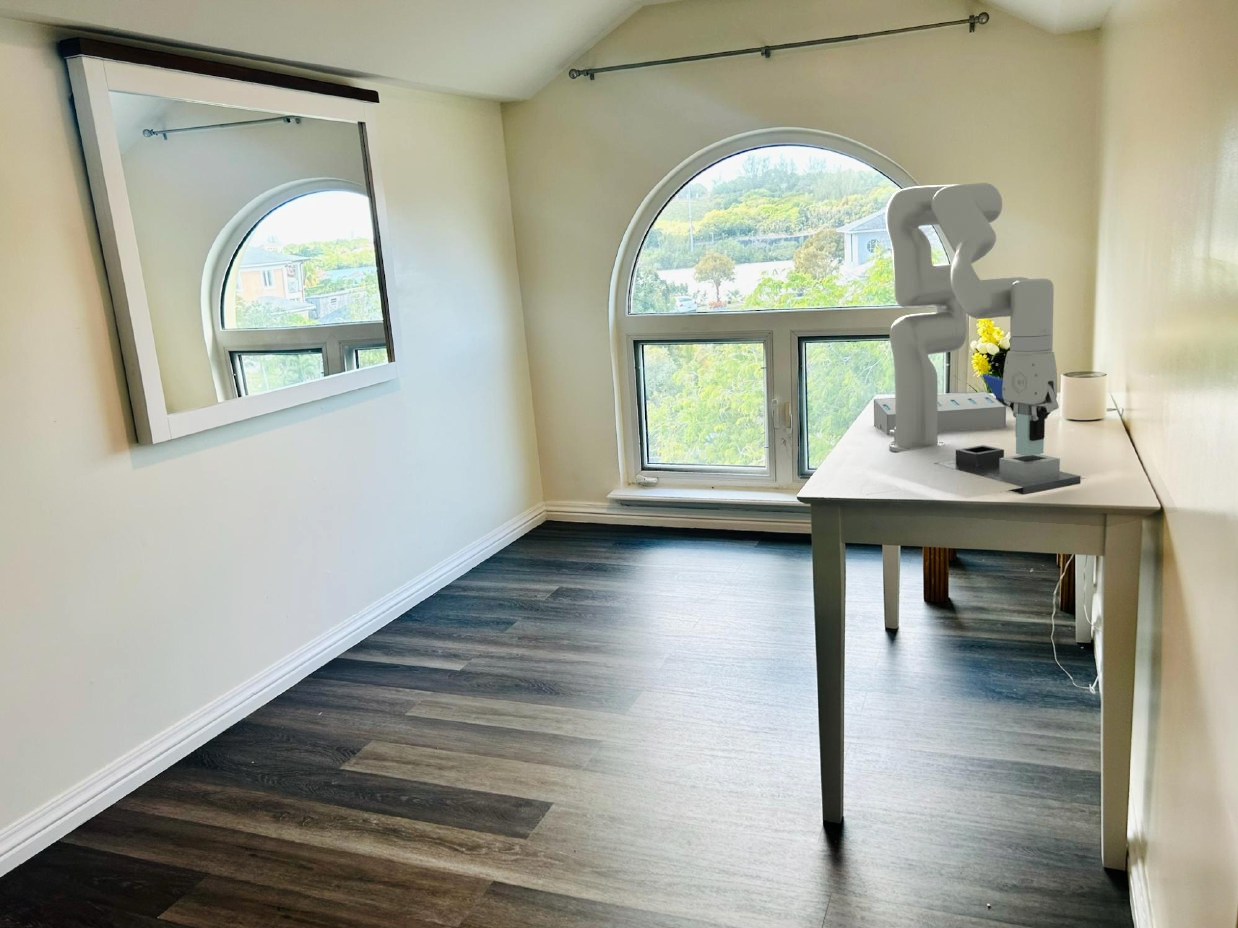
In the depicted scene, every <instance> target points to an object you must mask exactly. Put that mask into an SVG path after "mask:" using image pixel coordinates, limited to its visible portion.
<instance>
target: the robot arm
mask: <svg viewBox="0 0 1238 928" xmlns="http://www.w3.org/2000/svg"><path fill="white" fill-rule="evenodd" d="M1002 209H1003V198H1002V196H1001V193H1000V191H999V190H998V188H996V187H995V185H993V184H991V183H988V182H978V183H977V182H975V183H957V184H938V185H921V186H911V187H906V188H902V189H900V190H898V191H896V192H895V193H893V194H892V196H891V197H890V199H889V200H888V203H887V206H886V209H885V224H886V231H887V233H888V237H889V240H890V241H889V242H890V244H891V245H890V246H891V249H892V250H891V251H892V267H893V268H892V270H893V271H892V272H893V286H894V288H893V289H894V298H895V301H896V302H897V305H899V306H900V307H901V308H905V309H920V308H921V309H922V308H930V307H931V308H932V307H936V312H924V313H923V312H922V313H915V314H908V315H903V316H901V317H898V319H896V320H894V322H893V323H892V324H891V327H890V330H889V341H890V342H889V343H890V345H891V350H892V356H893V366H894V395H895V397H894V398H895V417H896V427H895V428H894V430H890V431H889V434H890V435H889V436H893V441H891V442H890V443H889V444H888V447H889V450H891V451H892V452H896V453H903V452H908V451H914V450H921V449H926V448H932V447H938V446H944V445H945V442H944V441H942V440H939V438H938V437H939V436H938V434H939V432H938V395H939V394H938V389H939V388H938V385H939V384H938V372H937V369H936V367H935V365H934V364H933V362H932V361H931V360H930V358H929V355H935V354H943V353H944V354H945V353H952V352H955V351H958V350H960V349H961V348H962V347H963V346H964V344H965V343H966V339H967V332H968V325H967V323H968V322H967V321H968V320H967V315H968V316H969V317H971V318H974V319H977V320H983V319H993V318H1003V317H1004V318H1007V317H1009V318H1010V319H1009V322H1010V324H1009V325H1010V327H1009V331H1010V332H1009V340H1008V343H1009V350H1008V351H1007V352H1006V355H1005V356H1006V357H1005V359H1004V360H1005V361H1004V367H1003V374H1002V376H1003V377H1002V379H1003V388H1002V395H1003V399H1004V402H1005V403H1006V404H1007V405H1009V406H1010V407H1009V406H1008V407H1009V408H1010V410H1011V411H1012V416H1013V418H1014V419H1016V414H1017V413H1019V404H1025V405H1031V407H1032V419H1033V420H1030V440H1031V441H1036V440H1041V439H1044V440H1045V437H1046V436H1045V432H1046V431H1045V425H1046V420H1047V419H1048V417H1049V415H1050V413H1052V412H1053V411H1056V410H1058V409H1059V402H1058V401H1057V399H1058V398H1057V397H1058V372H1057V369H1058V368H1057V361H1056V356H1055V352H1054V351H1053V348H1054V347H1053V343H1054V341H1053V340H1054V337H1053V335H1054V334H1053V333H1054V293H1055V292H1054V291H1055V290H1054V284H1053V282H1052V280H1050V279H1048V278H1028V277H1021V276H1020V277H1019V276H1018V277H1004V278H1003V277H1002V278H989V279H980V278H979V276H978V274H977V273H976V271H975V269H974V267H973V264H974V263H975V262H977V261H979V260H980V259H982V258H984V257H985V256H986V255H987V254H988V253H989V252H990V251H991V250H992V249H993V248H994V246H995V245H996V241H997V234H996V231H995V230H994V229H993V227H992V225H991V224H990V223H992V222H994V221H996V220H997V219H998V218H999V216H1001V213H1002V211H1003V210H1002ZM934 225H935V226H936V225H937V226H939V228H940V229H941V231H942V233H943V234H944V237H945V238H946V240H947V242H948V244H949V245H950V247H951V249H952V251H953V253H954V258H953V259H952V262H951V264H949V263H939V264H933V261H932V244H931V243H930V240H929V238H928V237H927V235H926V234H925V232H924V231H923V230H922V229H921V227H922V226H934ZM1038 407H1041V409H1040V410H1039V411H1038Z"/></svg>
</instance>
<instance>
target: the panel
mask: <svg viewBox="0 0 1238 928" xmlns="http://www.w3.org/2000/svg"><path fill="white" fill-rule="evenodd" d="M1060 461H1061V458H1059V457H1054V456H1051V455H1046V454H1036V455H1031V456H1025V455H1020V454H1016V455H1011V456H1005V449H1002V448H998V447H993V446H989V445H984V444H981V445H975V446H970V447H969V446H968V447H963V448H957V449H955V459H951V460H945V461H940V462H934V463H933V465H938V466H941V467H945V468H949V469H953V470H957V471H960V472H965V473H967V474H970V475H971V474H972V475H975V476H980V477H984V478H987V479H992V480H993V481H994V480H995V481H999V482H1002V483H1007V484H1009V485H1014V486H1018V488H1017V487H1016V488H1012V489H1008V490H1007V491H1009V492H1013V493H1016V494H1020V495H1023V496H1024V495H1029V494H1033V493H1038V492H1044V491H1049V490H1054V489H1060V488H1065V487H1070V486H1076V485H1080V484H1081V482H1082V480H1081V478H1082V476H1081V475H1077V474H1074V473H1068V472H1065V471H1061V470H1060V469H1061V467H1060V466H1061V462H1060Z"/></svg>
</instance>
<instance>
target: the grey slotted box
mask: <svg viewBox="0 0 1238 928" xmlns="http://www.w3.org/2000/svg"><path fill="white" fill-rule="evenodd" d="M1006 419H1007V406H1006V405H1003V404H1002V403H1000V402H999V401H998V400H997V399H996V397H995V396H993V395H992V394H991V393H989V392H988V391H974V392H973V391H971V392H957V393H944V394H943V393H942V394H938V431H939V432H950V431H952V430H954V431H962V429H963V431H965V430H964V429H968V430H979V429H981V430H982V429H995V428H1006V427H1007V420H1006ZM873 423H874V424H873V425H874V426H875V427H876V428H877V429H879V430H881V432H882V433H884V434H886V435H887V436H891V435H890V434H889V431H890V430H894V428H895V427H896V417H895V397H888V398H887V397H886V398H876V399H875V398H874V399H873Z"/></svg>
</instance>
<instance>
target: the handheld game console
mask: <svg viewBox="0 0 1238 928" xmlns="http://www.w3.org/2000/svg"><path fill="white" fill-rule="evenodd" d="M981 375H982V378H983V379H984V381H985V383H986V384H987V386H988V388H989V389H990V391H991V392H992V394H993V395H994V398H995V399H997V400H998V401H999V402H1000V403H1002V404H1003V405H1004V406H1006V407H1009V408H1010V406H1009V405H1007V404H1006V403H1005V402H1004V399H1003V395H1002V388H1003V377H1002V378H1001V377H997V376H993V375H990V374H987V373H983V374H981Z"/></svg>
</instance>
